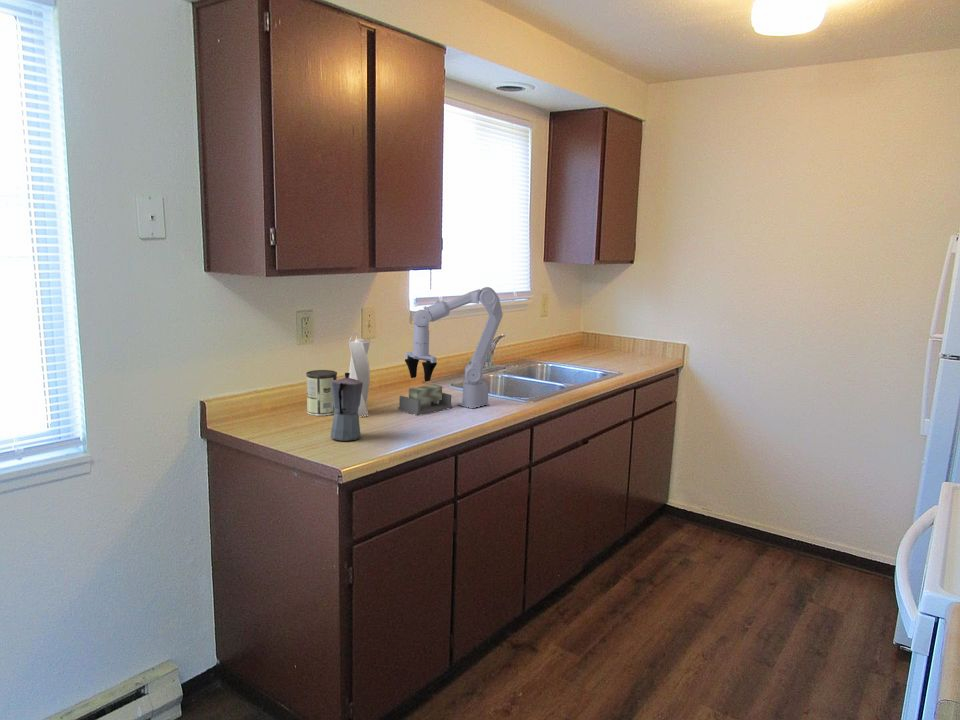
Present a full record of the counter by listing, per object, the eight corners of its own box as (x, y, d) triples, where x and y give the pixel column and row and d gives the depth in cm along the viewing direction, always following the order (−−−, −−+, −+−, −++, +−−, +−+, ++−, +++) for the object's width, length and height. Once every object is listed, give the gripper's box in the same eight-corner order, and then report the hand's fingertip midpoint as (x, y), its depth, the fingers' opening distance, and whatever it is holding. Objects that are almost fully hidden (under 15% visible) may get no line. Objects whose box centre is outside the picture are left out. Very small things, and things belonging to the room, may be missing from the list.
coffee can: (321, 407, 237) (321, 368, 235) (343, 411, 232) (343, 372, 230) (300, 413, 229) (299, 372, 226) (322, 417, 224) (322, 376, 221)
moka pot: (365, 431, 209) (365, 369, 205) (358, 446, 194) (358, 379, 190) (334, 431, 208) (334, 368, 205) (325, 445, 193) (324, 378, 190)
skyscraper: (343, 413, 231) (343, 333, 227) (365, 411, 235) (366, 332, 230) (350, 419, 224) (350, 336, 219) (373, 417, 228) (374, 336, 223)
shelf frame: (433, 403, 250) (433, 390, 249) (452, 408, 243) (452, 394, 242) (398, 410, 237) (398, 396, 236) (416, 415, 231) (417, 401, 230)
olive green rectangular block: (433, 397, 245) (433, 384, 244) (441, 399, 242) (442, 386, 241) (408, 402, 237) (408, 388, 236) (417, 404, 234) (417, 390, 233)
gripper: (399, 341, 245) (399, 377, 247) (426, 346, 235) (425, 383, 238) (413, 339, 250) (413, 375, 252) (441, 344, 240) (440, 381, 243)
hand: (420, 379), depth 245 cm, fingers open, 7 cm apart
